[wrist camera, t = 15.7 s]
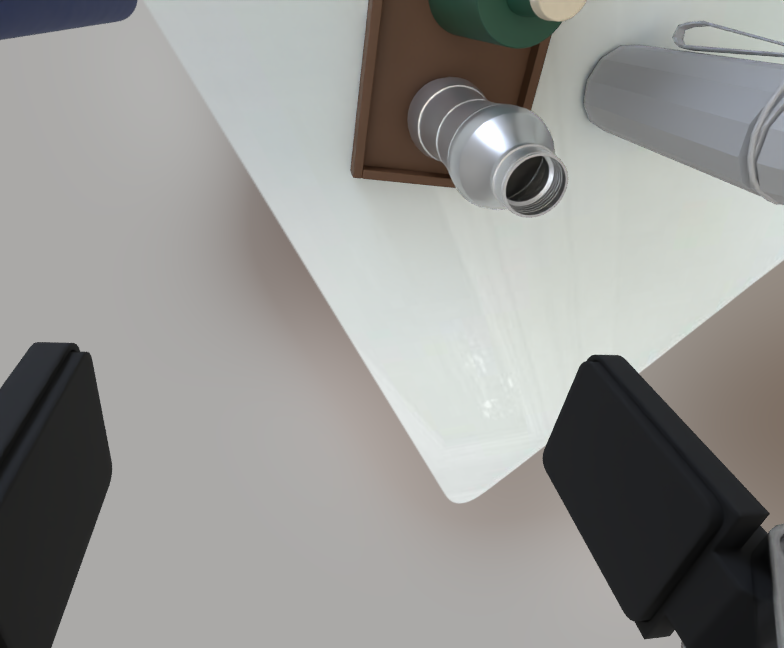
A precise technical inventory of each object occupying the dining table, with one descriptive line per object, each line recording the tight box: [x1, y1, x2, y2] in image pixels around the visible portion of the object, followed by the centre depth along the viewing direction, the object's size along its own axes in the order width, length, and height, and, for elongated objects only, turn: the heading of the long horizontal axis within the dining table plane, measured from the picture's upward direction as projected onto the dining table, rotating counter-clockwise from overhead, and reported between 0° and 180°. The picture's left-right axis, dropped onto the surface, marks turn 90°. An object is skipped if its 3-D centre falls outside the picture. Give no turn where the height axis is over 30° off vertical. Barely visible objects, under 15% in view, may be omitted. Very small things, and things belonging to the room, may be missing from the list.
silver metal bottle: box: [407, 77, 568, 217], centre depth 36 cm, size 6×7×20 cm
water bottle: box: [583, 21, 784, 205], centre depth 35 cm, size 9×8×25 cm
